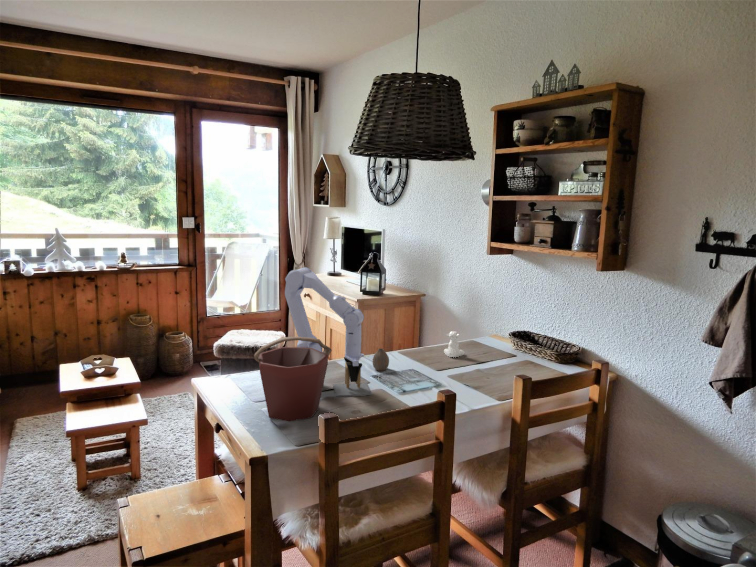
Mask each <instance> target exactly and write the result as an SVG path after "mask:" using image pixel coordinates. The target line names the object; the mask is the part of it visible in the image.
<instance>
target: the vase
mask: <svg viewBox="0 0 756 567" xmlns="http://www.w3.org/2000/svg"><path fill="white" fill-rule="evenodd" d="M389 365H390V358H389V355H388V354H387V352H386V351H385V349H384V348H378V349H377V351H376V352H375V353H374V355H373V357H372V366H373V368H374V369H375V370H376V371H377V370H378V372H385V371H386V370H387V369H388V368H389Z"/></svg>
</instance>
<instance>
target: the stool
mask: <svg viewBox="0 0 756 567" xmlns="http://www.w3.org/2000/svg"><path fill="white" fill-rule="evenodd" d="M344 362H345V361H344ZM346 363H352V362H345V364H344V376H345V377H344V384H346V388H349V384H351V381H350V375H349V369H348V367H347V365H346ZM361 372H362V368H361V369H360V371H359V374H358V378H357V381H356V382H355V383H356V384H357V387H358V388H359V387H360V383H361V380H362V379H361V378H362V376H361V374H362V373H361Z"/></svg>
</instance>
